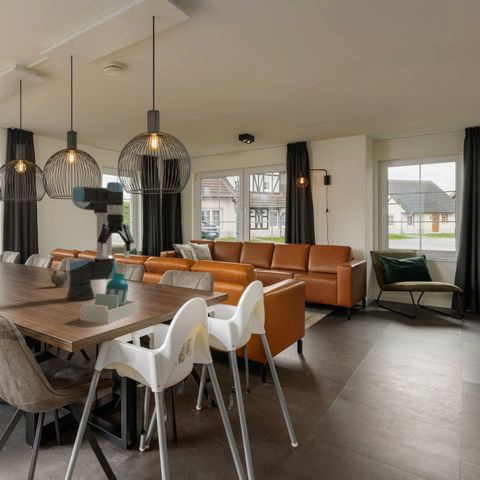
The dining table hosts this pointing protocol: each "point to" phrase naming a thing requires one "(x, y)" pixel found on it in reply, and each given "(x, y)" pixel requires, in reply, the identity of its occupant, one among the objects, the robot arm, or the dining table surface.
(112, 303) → the pusher
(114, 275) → the vase
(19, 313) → the dining table surface
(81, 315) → the pusher lane
